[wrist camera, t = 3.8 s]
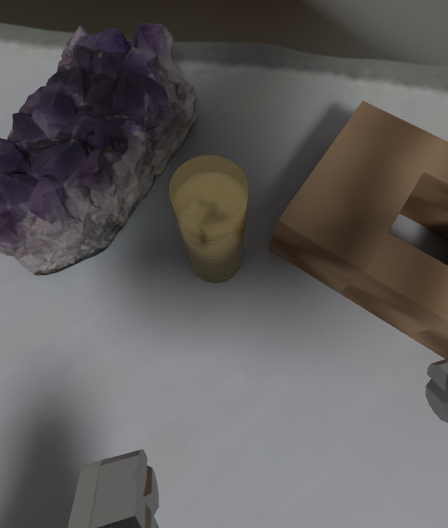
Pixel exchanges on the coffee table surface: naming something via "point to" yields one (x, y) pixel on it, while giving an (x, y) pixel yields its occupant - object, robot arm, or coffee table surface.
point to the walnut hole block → (375, 223)
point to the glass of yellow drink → (211, 214)
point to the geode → (90, 146)
